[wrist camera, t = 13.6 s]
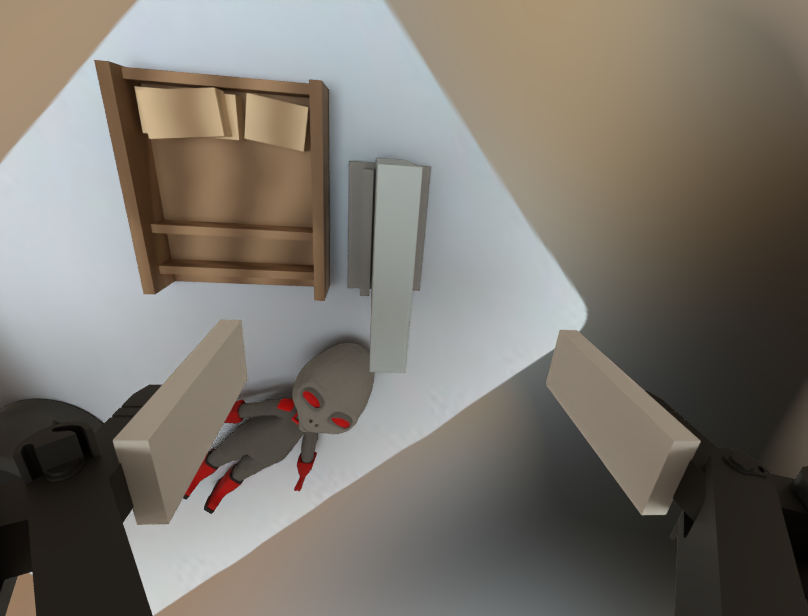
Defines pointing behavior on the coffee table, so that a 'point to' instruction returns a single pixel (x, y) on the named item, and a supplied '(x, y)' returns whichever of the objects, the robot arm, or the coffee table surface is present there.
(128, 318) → the coffee table surface
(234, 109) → the offcut
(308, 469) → the toy
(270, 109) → the offcut
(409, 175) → the grey flat slab
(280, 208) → the rack
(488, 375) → the coffee table surface
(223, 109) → the offcut
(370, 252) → the stand
